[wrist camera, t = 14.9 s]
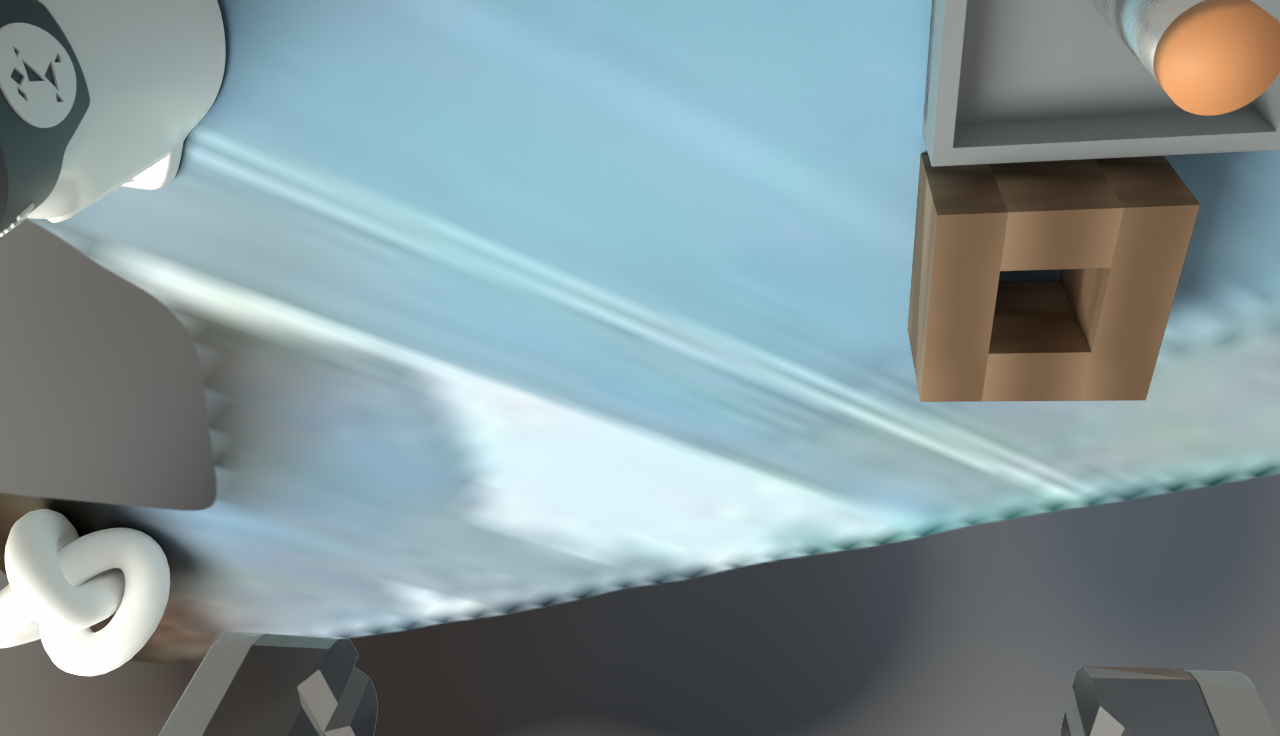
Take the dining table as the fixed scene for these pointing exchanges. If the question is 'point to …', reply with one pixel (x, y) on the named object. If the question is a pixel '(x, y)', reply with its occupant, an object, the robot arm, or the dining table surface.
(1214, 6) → the pin
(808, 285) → the dining table surface
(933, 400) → the hitch block
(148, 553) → the white knot
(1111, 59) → the tray
